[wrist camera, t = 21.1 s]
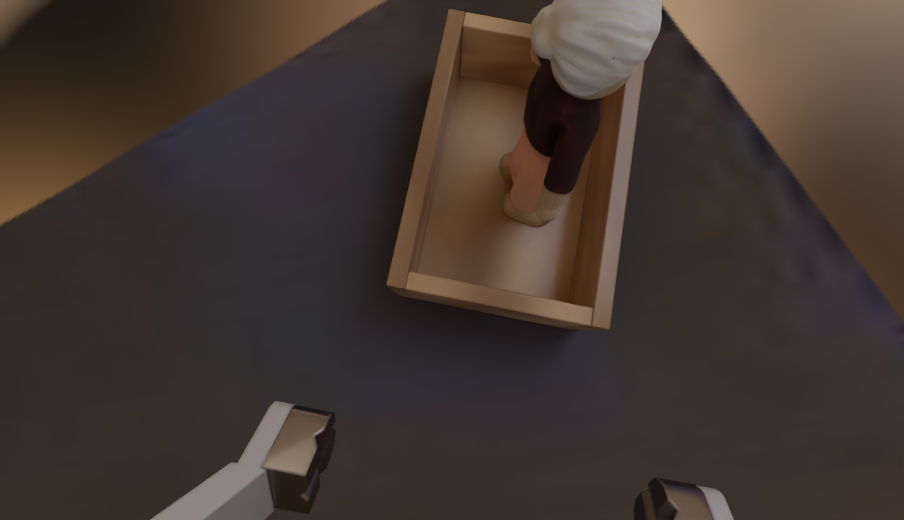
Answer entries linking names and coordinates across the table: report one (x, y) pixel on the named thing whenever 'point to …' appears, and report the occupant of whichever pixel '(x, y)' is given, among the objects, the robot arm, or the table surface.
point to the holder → (483, 190)
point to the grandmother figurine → (571, 95)
